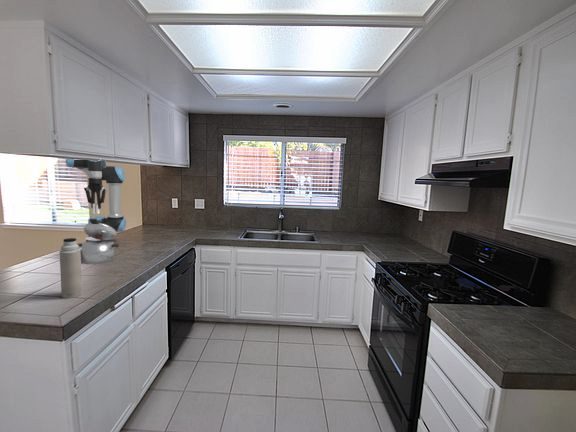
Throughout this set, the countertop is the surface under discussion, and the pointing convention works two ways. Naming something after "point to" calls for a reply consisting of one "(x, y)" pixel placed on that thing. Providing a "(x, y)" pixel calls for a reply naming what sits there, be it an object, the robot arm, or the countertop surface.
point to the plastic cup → (90, 239)
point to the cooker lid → (99, 230)
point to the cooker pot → (98, 251)
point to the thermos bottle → (70, 269)
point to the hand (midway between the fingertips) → (96, 213)
